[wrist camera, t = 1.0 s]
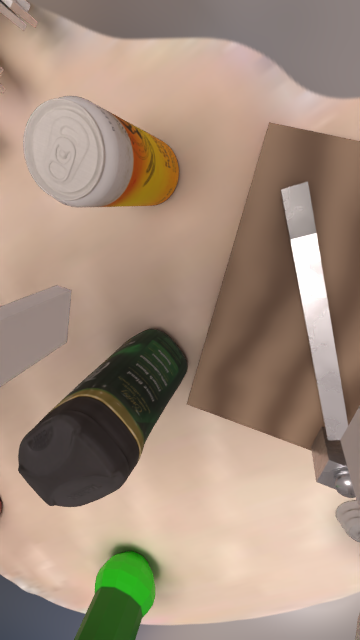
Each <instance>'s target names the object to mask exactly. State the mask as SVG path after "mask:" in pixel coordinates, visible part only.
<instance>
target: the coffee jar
mask: <svg viewBox="0 0 360 640" xmlns="http://www.w3.org/2000/svg"><path fill="white" fill-rule="evenodd" d="M186 372H187V362H186V359H185V356H184V355H183V353H182V351H181V350H180V349H179V347H178V346H177V345H176V343H175V342H174V341H173V340H172V339H171V338H170V337H169V336H168V335H167V334H165V333H164V332H162V331H159V330H155V329H149V330H146V331H143V332H141V333H139V334H138V335H136V336H134V337H133V338H131V339H130V340H128V341H127V342H126V343H125V344H123V345H122V346H121V347H120V348H119V349H118V350H117V351H116V352H115V353H113V354H112V355H111V356H110V357H109V358H108V359H107V360H106V361H105V362H104V363H102V364H101V365H100V366H99V367H98V368H97V369H96V370H94V371H93V372H92V373H91V374H90V375H89V376H88V377H87V378H86V379H84V380H83V381H82V382H81V383H80V384H79V385H78V386H77V387H76V388H75V389H74V390H73V391H72V392H70V393H69V394H68V395H67V396H66V397H65V398H64V399H63V400H62V401H61V402H60V403H59V404H58V405H57V406H56V407H54V408H53V409H52V410H51V411H50V412H49V413H48V414H47V415H46V416H45V417H44V418H43V419H42V420H41V421H40V422H39V423H38V424H37V425H36V426H35V427H34V428H33V429H32V430H31V431H30V432H29V433H28V434H27V435H26V436H25V437H24V438H23V440H22V442H21V444H20V448H19V455H18V458H19V468H18V471H19V473H20V474H21V475H22V476H23V478H24V479H25V480H26V481H27V483H28V484H29V485H30V486H31V487H32V488H33V489H34V491H35V492H36V493H37V494H38V495H39V496H40V497H41V498H42V499H43V500H44V501H45V502H46V503H47V504H48V505H49V506H54V505H57V506H64V507H77V506H82V505H85V504H88V503H90V502H93V501H96V500H98V499H100V498H103V497H105V496H107V495H108V494H110V493H112V492H114V491H116V490H117V489H119V488H120V487H121V486H122V485H123V484H124V483H125V481H126V480H127V478H128V476H129V475H130V473H131V472H132V470H133V469H134V467H135V466H136V464H137V462H138V460H139V459H140V456H141V454H142V451H143V447H144V444H145V441H146V440H147V438H148V436H149V434H150V432H151V430H152V429H153V427H154V425H155V424H156V422H157V420H158V419H159V417H160V415H161V414H162V412H163V410H164V409H165V407H166V405H167V404H168V402H169V400H170V399H171V397H172V396H173V394H174V392H175V391H176V389H177V388H178V386H179V385H180V383H181V381H182V380H183V378H184V376H185V374H186Z"/></svg>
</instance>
